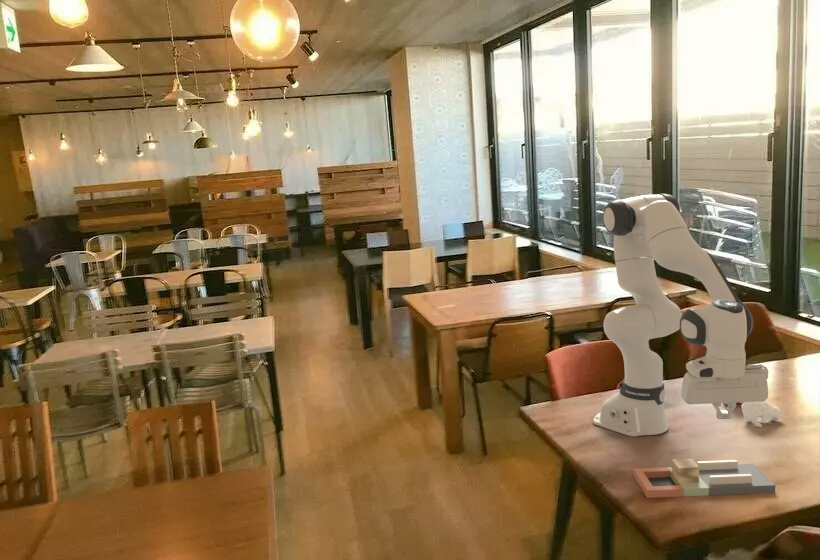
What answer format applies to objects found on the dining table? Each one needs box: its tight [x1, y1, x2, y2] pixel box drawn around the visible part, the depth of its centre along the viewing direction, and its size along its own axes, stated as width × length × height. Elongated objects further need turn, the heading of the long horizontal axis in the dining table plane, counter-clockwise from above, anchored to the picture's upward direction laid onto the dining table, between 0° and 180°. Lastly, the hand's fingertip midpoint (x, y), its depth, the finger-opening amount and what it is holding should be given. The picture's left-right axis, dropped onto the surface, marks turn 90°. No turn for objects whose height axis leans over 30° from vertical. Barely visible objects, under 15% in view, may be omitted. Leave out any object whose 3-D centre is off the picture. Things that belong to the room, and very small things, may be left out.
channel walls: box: [696, 459, 752, 485], centre depth 173 cm, size 10×9×2 cm
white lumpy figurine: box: [740, 400, 782, 428], centre depth 207 cm, size 6×8×12 cm
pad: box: [667, 466, 710, 497], centre depth 173 cm, size 6×12×2 cm, turn 178°
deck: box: [632, 463, 776, 499], centre depth 173 cm, size 31×12×2 cm, turn 88°
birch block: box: [671, 458, 699, 483], centre depth 173 cm, size 5×5×4 cm
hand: (723, 418), depth 170 cm, fingers closed
